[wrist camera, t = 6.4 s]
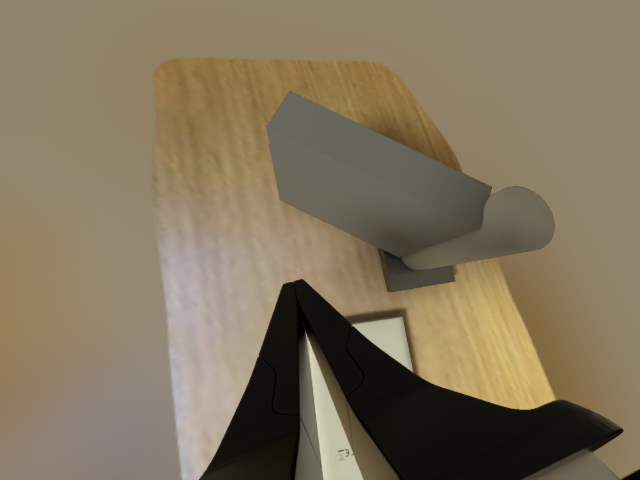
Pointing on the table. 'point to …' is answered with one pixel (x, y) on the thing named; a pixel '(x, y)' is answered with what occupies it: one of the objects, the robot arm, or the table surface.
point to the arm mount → (411, 274)
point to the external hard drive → (333, 441)
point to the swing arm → (397, 192)
